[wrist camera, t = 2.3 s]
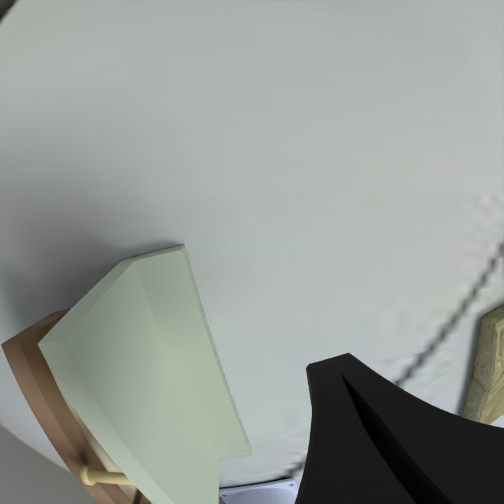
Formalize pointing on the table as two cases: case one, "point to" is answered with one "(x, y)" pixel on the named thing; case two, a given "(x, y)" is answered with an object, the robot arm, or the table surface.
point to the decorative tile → (488, 372)
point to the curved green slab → (149, 380)
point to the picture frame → (62, 414)
